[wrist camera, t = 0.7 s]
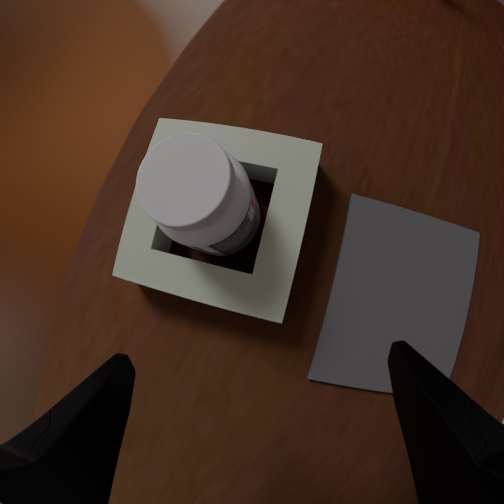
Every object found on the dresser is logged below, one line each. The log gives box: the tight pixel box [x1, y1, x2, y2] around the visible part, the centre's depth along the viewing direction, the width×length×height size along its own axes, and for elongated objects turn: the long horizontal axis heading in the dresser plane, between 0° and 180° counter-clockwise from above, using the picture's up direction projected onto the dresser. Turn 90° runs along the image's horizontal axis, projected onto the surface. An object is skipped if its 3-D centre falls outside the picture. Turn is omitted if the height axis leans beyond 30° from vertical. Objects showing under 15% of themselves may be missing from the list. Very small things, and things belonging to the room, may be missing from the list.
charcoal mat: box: [307, 194, 480, 393], centre depth 21 cm, size 14×12×1 cm
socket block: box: [112, 118, 322, 323], centre depth 22 cm, size 12×12×4 cm
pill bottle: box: [136, 132, 260, 256], centre depth 19 cm, size 6×6×10 cm
